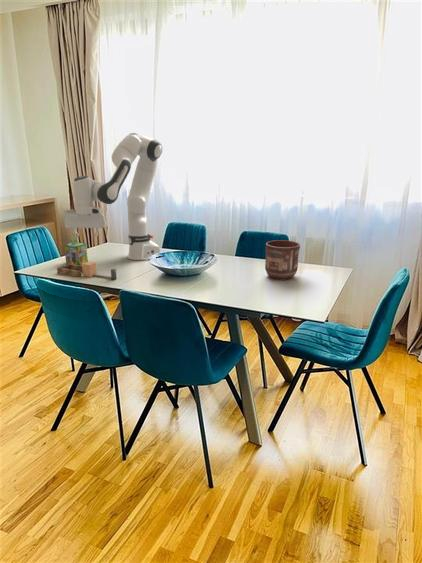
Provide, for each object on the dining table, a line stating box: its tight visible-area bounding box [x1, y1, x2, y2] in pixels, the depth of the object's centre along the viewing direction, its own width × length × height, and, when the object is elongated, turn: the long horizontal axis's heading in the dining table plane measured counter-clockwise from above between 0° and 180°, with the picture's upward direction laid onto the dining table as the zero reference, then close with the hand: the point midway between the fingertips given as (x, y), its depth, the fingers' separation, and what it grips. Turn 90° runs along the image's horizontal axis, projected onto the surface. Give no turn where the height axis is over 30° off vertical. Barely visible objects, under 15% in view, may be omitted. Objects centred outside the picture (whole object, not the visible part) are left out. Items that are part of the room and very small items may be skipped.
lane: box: [56, 264, 83, 278], centre depth 224 cm, size 15×9×3 cm, turn 66°
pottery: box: [264, 239, 301, 280], centre depth 218 cm, size 18×18×18 cm
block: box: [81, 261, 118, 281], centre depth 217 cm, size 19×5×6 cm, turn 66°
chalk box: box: [63, 237, 89, 266], centre depth 240 cm, size 9×9×15 cm
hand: (86, 236), depth 214 cm, fingers open, 8 cm apart
